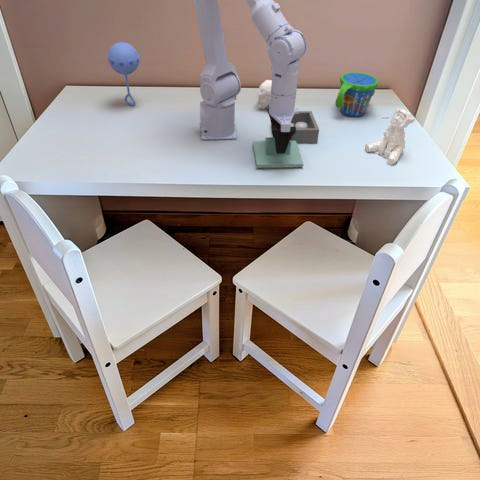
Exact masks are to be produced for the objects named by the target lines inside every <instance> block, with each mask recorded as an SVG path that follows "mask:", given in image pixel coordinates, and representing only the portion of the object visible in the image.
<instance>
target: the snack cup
mask: <svg viewBox="0 0 480 480" xmlns="http://www.w3.org/2000/svg"><path fill="white" fill-rule="evenodd" d="M339 82H340V88H339V91H338V93H337V97H336V99H335V103H334V104H335V106H336V108H338V109H339V110H340V112H341V113H342V114H343V115H344V116H349V117H357V118H358V117H360V116H364V114H365V113H366V112H367V109H368V107H369V105H370V102H371V100H372V97H373V96H374V95H375V92H376V88H377V87H378V86H379V80H378V78H377V77H375V76H374V75H372V74H368V73H364V72H346V73H343V74H342V75H341V76H340V77H339Z"/></svg>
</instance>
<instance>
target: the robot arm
mask: <svg viewBox="0 0 480 480" xmlns="http://www.w3.org/2000/svg"><path fill="white" fill-rule="evenodd" d="M218 1H219V0H193V4H194V5H193V6H194V10H195V16H196V20H197V25H198V30H199V36H200V41H201V47H202V52H203V55H204V57H203V58H204V60H205V61H204V62H205V65H204V68H203V69H202V70H201V73H200V75H199V80H200V88H199V90H200V91H199V92H200V96H201V98H202V100H203V101H199V118H200V122H199V129H200V137H201V140H204V141H205V140H206V141H207V140H212V141H213V140H214V141H215V140H237V138H238V137H237V128H236V123H235V118H236V117H235V109H236V107H235V104H236V102H235V101H236V100H237V96H238V95H239V94H240V92H241V89H242V83H241V80H240V78H239V76H238V73H237V70H236V69H237V68H236V66H235V65H234V64H232V63H231V62H230V61H229V60H228V55H227V54H228V53H227V48H226V43H225V36H224V35H225V34H224V31H223V24H222V18H221V13H220V7H219V6H220V5H219V2H218ZM244 1H245V3H246V4H247V5H248V7H249V8H250V9H251V21H252V23H253V24H254V26H255V28H256V29H257V30H258V31H259V33H260V35H261V36H262V38H263V39H264V41H265V42H266V44H267V45H268V48H267V54H268V57H269V60H270V62H271V70H272V73H271V80H272V84H271V98H270V107H269V106H268V108H267V109H266V112H267V114H268V117H269V119H270V125H271V126H270V129H271V133H272V134H271V135H272V137H275V147H276V152H277V154H281V153H285V152H286V150H287V147H288V144H289V142H290V140H291V138H292V136H293V135H294V134H295V132H296V127H290V126H291V121H292V119H293V116H294V114H299V111H300V109H299V108H298V107H295V106H296V96H297V89H298V87H297V86H298V81H299V80H298V79H299V73H300V72H299V71H300V63H301V59H302V58H303V56H305V54H306V52H307V41H306V38H305V36H304V33H303V32H301V31H300V30H298V29H295V28H293V26H292V25H291V24H289V22H288V21H287V19H286V17H285V16H284V14H283V13H282V11H281V6H280V4H279V3H278V2H275V1H274V0H244Z"/></svg>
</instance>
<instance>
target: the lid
mask: <svg viewBox="0 0 480 480" xmlns="http://www.w3.org/2000/svg"><path fill="white" fill-rule="evenodd" d="M252 147H253V152H254V153H253V154H254V159H255V160H254V161H255V164H256V168H257V169H259V168H262V169H263V168H265V169H266V168H268V169H269V168H303V167H304V165H305V163H304V161H303V157H302V154H301V152H300V151H301V150H300V149H299V144H297V142H296V141H291V140H290V142H289V144H288V147H287V150H286V152H285V153H281V154H277V152H276V147H275V137H273V136H272V137H270V136H269V137H267V136H266V137H265V140H262V141H261V140H254V141H252Z"/></svg>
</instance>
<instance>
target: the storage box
mask: <svg viewBox="0 0 480 480" xmlns="http://www.w3.org/2000/svg"><path fill="white" fill-rule="evenodd" d="M290 127H296V132H295V134H294V135H293V136H292V138H291V141H296V142H297V145H302V144H306V145H307V144H311V145H312V144H313V145H315V144H318V140H319V133H320V128H319V126H318V123H317V121H316V119H315V117H314V114H313V111H312V110H301V111H300V110H299V114H294V116H293V119H292V121H291V126H290Z"/></svg>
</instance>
